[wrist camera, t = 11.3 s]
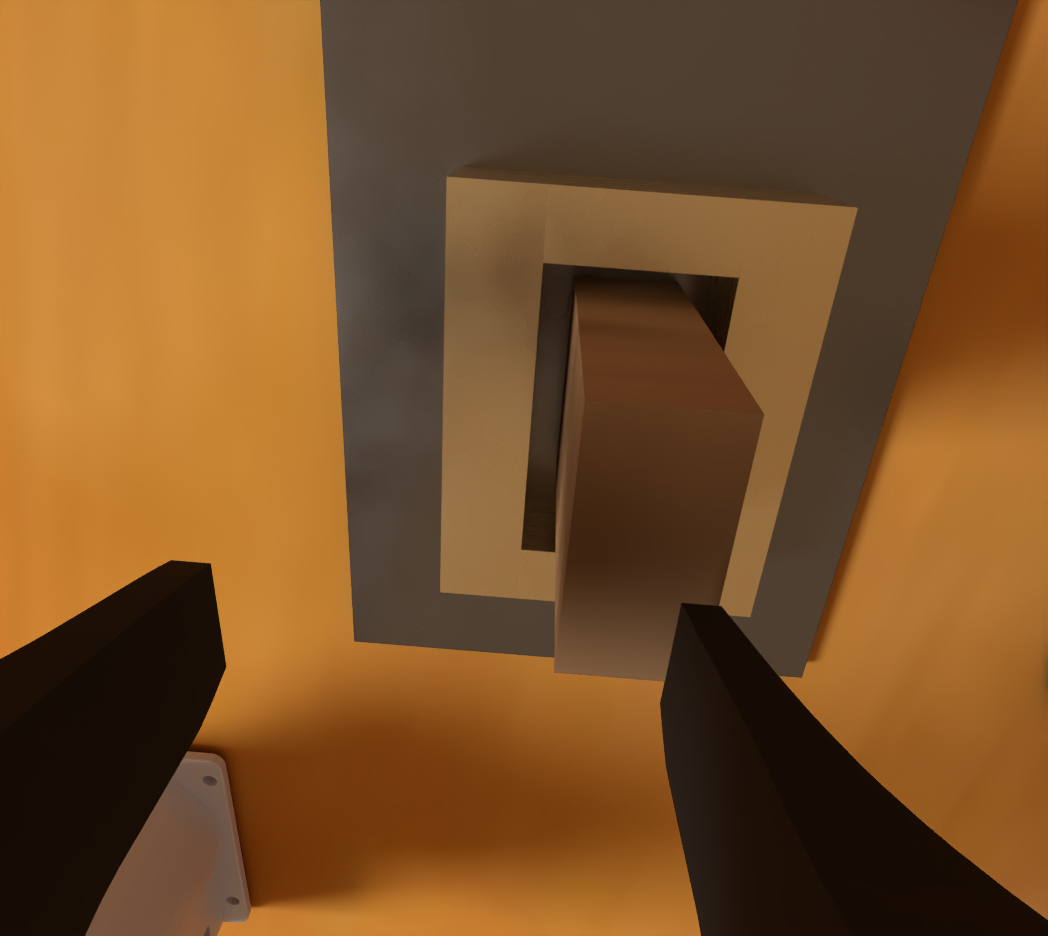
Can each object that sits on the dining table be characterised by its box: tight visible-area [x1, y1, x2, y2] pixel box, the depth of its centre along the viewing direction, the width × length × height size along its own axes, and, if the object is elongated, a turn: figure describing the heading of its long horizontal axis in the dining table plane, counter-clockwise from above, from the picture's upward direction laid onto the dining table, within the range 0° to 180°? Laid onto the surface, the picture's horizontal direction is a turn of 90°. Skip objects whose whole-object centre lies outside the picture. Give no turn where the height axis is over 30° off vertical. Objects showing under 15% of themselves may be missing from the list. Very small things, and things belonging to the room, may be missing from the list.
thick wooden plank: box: [554, 276, 764, 681], centre depth 15 cm, size 5×2×8 cm, turn 176°
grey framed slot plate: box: [320, 0, 1018, 678], centre depth 18 cm, size 18×14×3 cm
